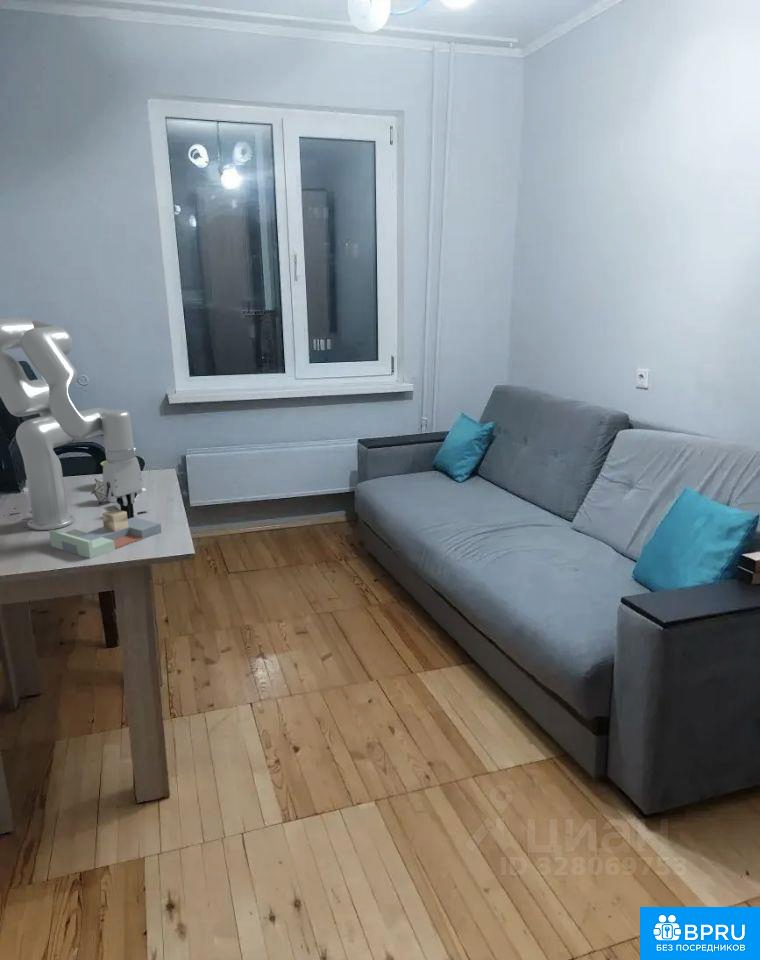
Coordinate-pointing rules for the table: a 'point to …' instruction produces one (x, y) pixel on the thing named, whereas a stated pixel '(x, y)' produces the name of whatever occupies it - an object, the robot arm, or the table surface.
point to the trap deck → (103, 538)
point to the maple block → (115, 520)
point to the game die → (100, 491)
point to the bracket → (139, 502)
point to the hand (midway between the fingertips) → (128, 517)
